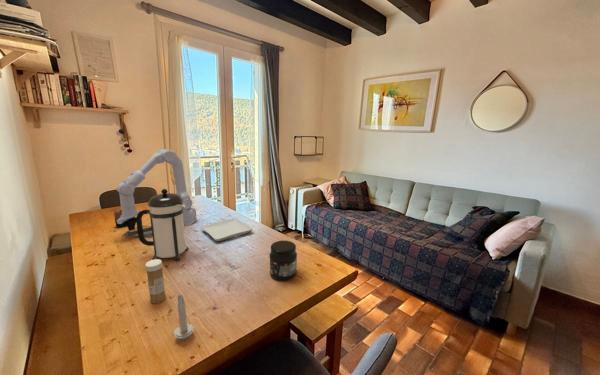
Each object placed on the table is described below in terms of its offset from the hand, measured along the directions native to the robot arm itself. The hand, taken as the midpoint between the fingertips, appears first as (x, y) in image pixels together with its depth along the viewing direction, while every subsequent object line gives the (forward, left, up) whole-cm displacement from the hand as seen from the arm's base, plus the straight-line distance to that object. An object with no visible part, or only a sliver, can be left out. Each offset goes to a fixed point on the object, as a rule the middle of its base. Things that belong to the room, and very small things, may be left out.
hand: (132, 231), depth 128 cm
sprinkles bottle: (-42, +46, -3) cm, 62 cm away
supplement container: (-81, +28, -3) cm, 86 cm away
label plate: (-3, -5, -2) cm, 6 cm away
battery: (+14, -12, -3) cm, 19 cm away
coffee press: (-29, +18, -3) cm, 34 cm away
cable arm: (-5, -1, -1) cm, 5 cm away
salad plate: (-46, -9, -3) cm, 47 cm away
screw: (-58, +60, -3) cm, 83 cm away
